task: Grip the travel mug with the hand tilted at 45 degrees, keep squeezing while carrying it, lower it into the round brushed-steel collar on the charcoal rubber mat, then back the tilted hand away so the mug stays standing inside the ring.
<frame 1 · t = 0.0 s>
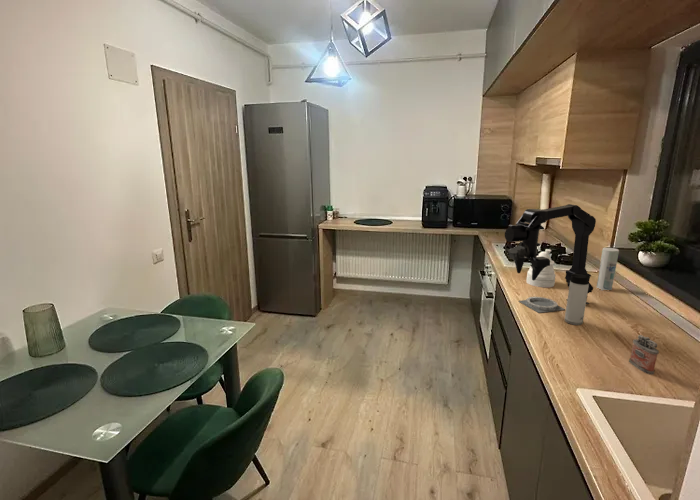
hand: (525, 276, 159), 15 cm above the worktop, tool pointing down, fingers open, 9 cm apart
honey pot: (540, 283, 194), on the worktop
metal collar: (541, 303, 165), on the base mat
base mat: (541, 305, 166), on the worktop
spray can: (603, 289, 185), on the worktop
travel mug: (573, 322, 150), on the worktop
red and grey container: (641, 367, 119), on the worktop
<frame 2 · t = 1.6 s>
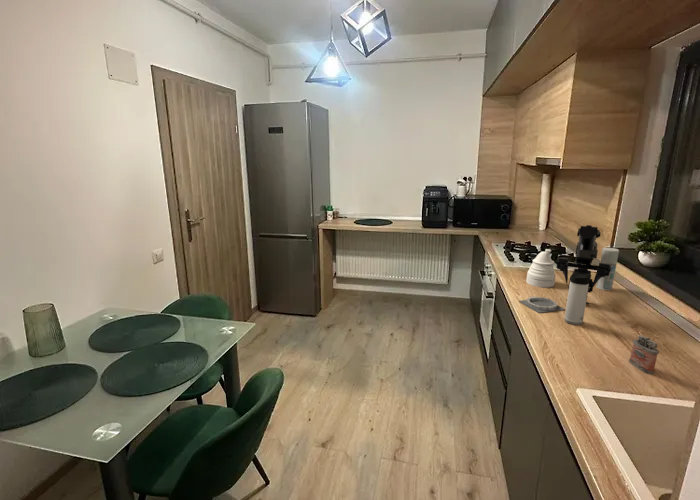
hand: (579, 284, 152), 13 cm above the worktop, tool tilted 45°, fingers open, 9 cm apart
nothing on the worktop moved.
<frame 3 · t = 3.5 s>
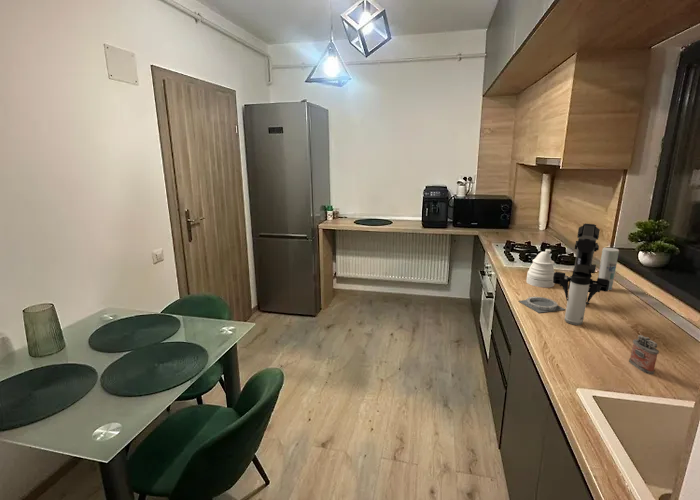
hand: (577, 300, 146), 10 cm above the worktop, tool tilted 45°, fingers open, 7 cm apart
travel mug: (573, 322, 150), on the worktop, touching gripper
everything else where it was.
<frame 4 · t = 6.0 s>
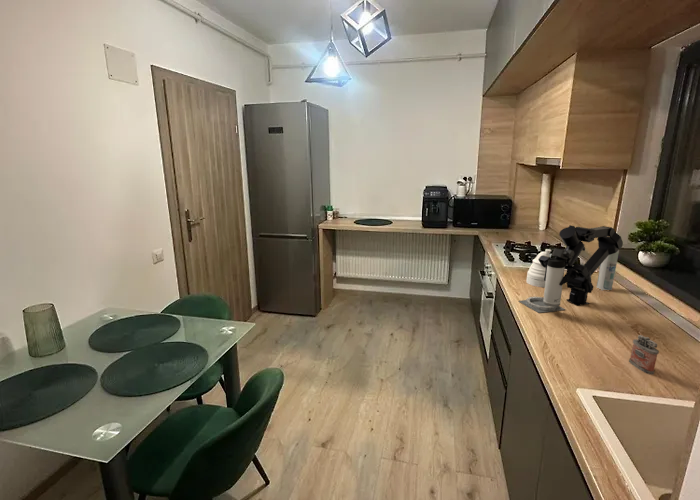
hand: (552, 282, 155), 13 cm above the worktop, tool tilted 45°, fingers closed on travel mug, 6 cm apart
travel mug: (551, 304, 158), point 4 cm above the worktop, touching gripper
everything else where it was.
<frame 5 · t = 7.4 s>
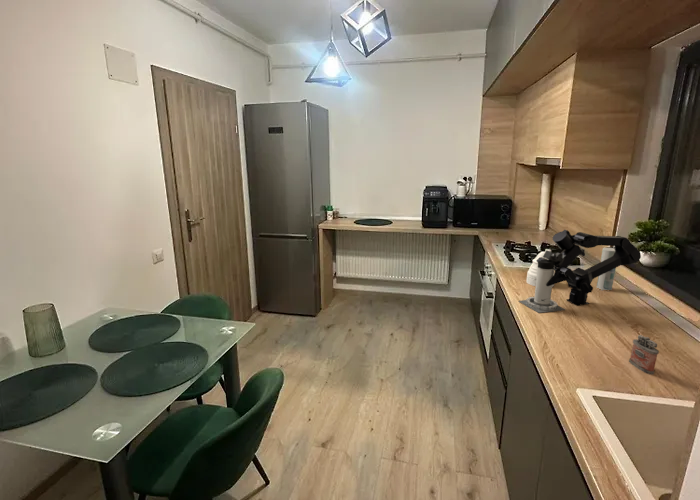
hand: (541, 283, 163), 11 cm above the worktop, tool tilted 45°, fingers closed on travel mug, 6 cm apart
travel mug: (542, 304, 165), point 1 cm above the worktop, touching gripper
everything else where it was.
when the fingers open (11 cm above the worktop, at t = 8.2 s): travel mug stays where it is, resting on base mat.
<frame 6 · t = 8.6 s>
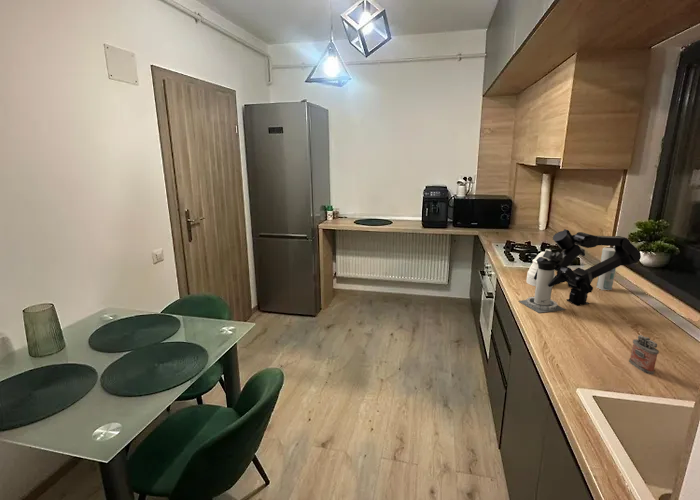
hand: (541, 282, 163), 11 cm above the worktop, tool tilted 45°, fingers open, 9 cm apart
travel mug: (541, 305, 166), resting on base mat, touching gripper
everything else where it was.
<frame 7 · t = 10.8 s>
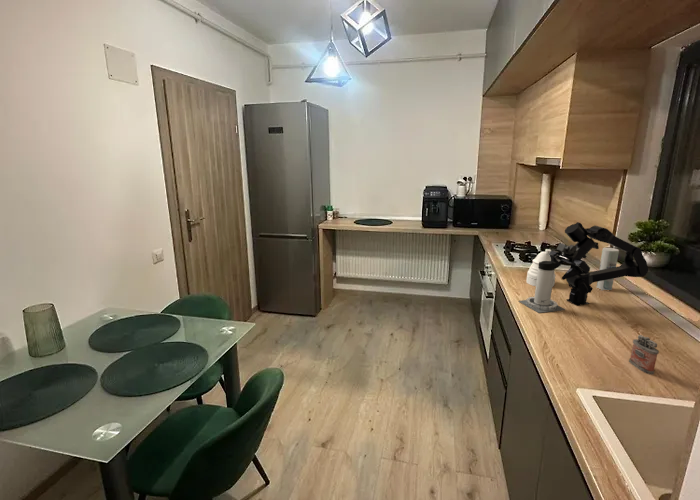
hand: (554, 275, 163), 14 cm above the worktop, tool tilted 45°, fingers open, 9 cm apart
travel mug: (541, 305, 166), resting on base mat
everything else where it was.
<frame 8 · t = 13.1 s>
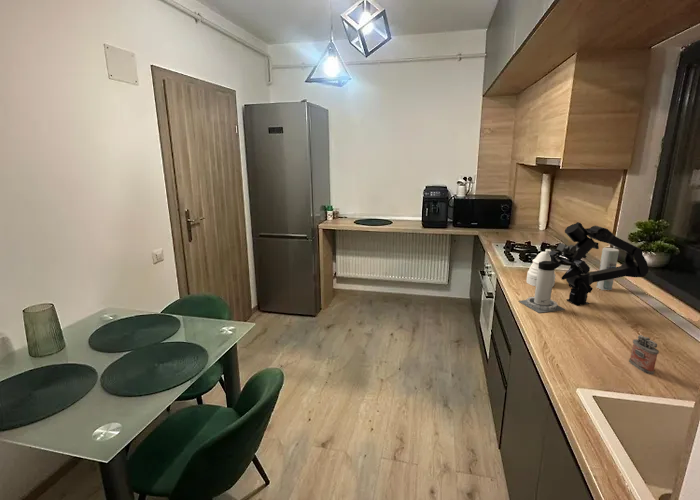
hand: (554, 275, 163), 14 cm above the worktop, tool tilted 45°, fingers open, 9 cm apart
nothing on the worktop moved.
at the end: travel mug 0.3 cm off-centre on the metal collar, point 0.2 cm above the metal collar's base; travel mug tilted 0°; the gripper is holding nothing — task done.
